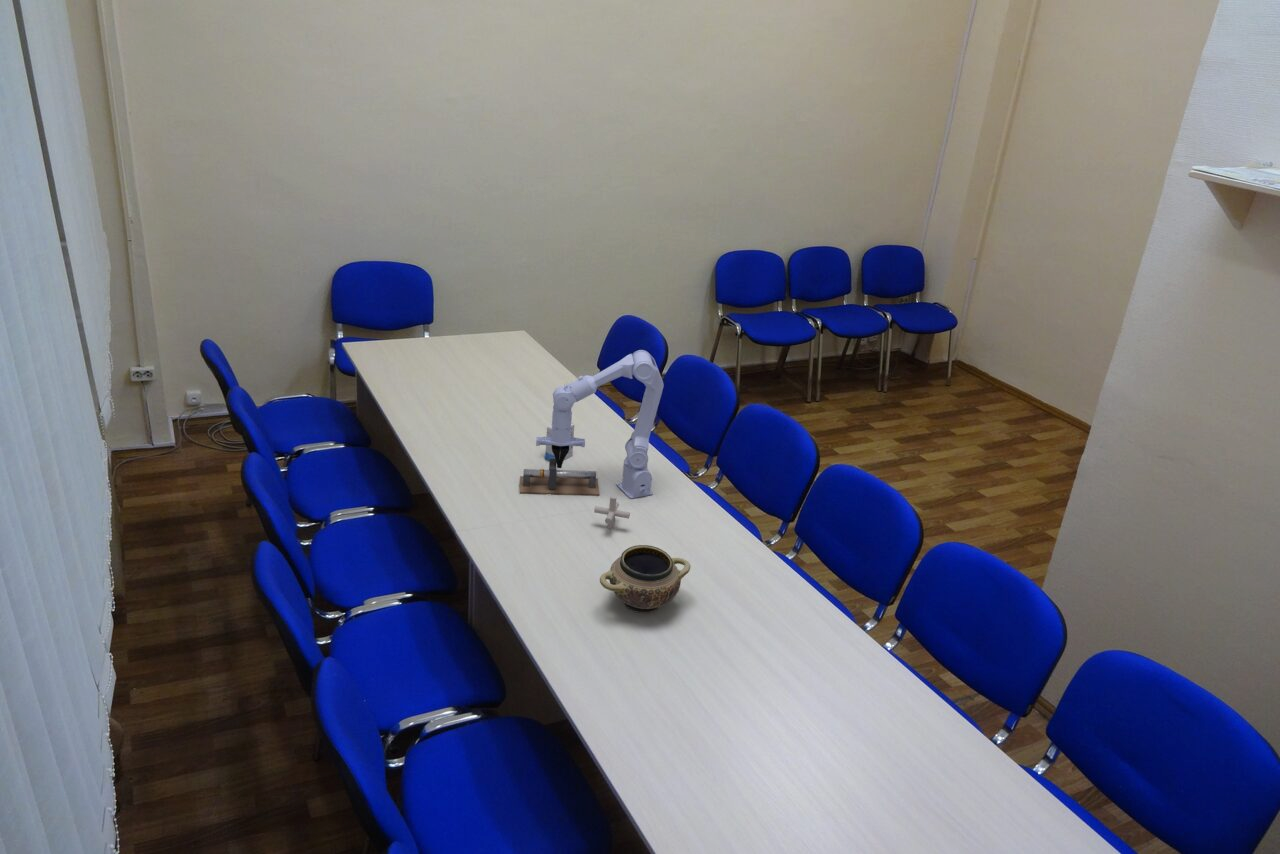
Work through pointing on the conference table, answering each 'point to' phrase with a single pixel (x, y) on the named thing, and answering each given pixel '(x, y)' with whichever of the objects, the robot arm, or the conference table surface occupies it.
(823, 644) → the conference table surface
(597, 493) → the walnut board
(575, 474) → the steel pipe
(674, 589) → the ceramic bowl
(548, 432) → the ink box
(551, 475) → the rubber collar
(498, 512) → the conference table surface
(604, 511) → the pipe connector
